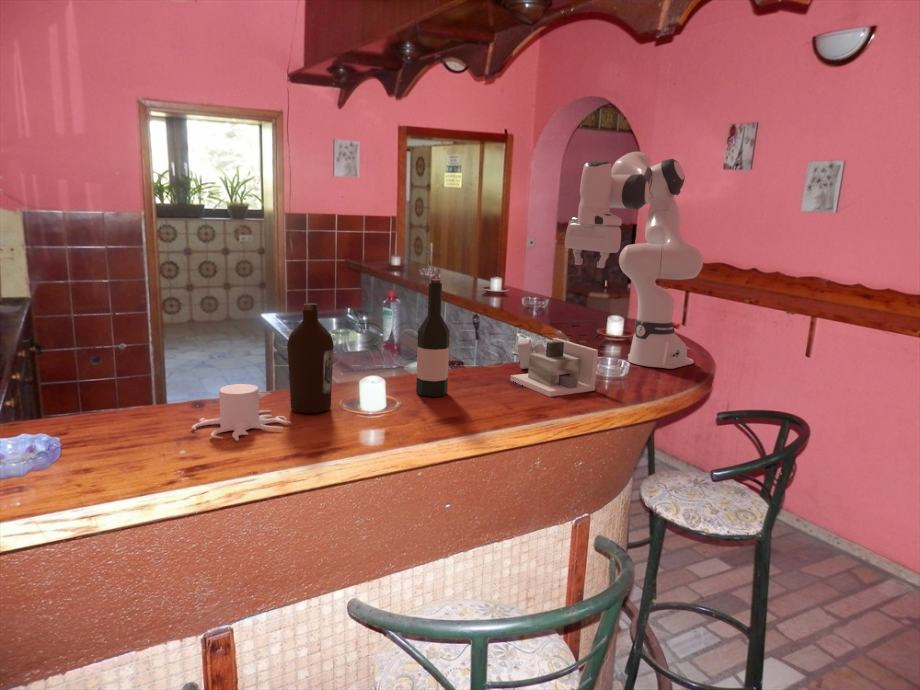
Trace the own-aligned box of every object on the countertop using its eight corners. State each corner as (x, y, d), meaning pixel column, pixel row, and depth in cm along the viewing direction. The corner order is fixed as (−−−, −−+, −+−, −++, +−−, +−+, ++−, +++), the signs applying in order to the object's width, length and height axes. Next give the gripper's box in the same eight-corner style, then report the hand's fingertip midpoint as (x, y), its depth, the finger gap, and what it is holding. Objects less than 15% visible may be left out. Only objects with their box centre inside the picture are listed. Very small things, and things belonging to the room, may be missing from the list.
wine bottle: (429, 386, 178) (432, 277, 172) (453, 392, 173) (458, 280, 167) (409, 392, 171) (412, 279, 165) (434, 398, 167) (438, 282, 161)
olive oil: (282, 413, 150) (281, 306, 145) (294, 399, 161) (293, 299, 156) (328, 415, 150) (328, 308, 145) (337, 401, 161) (337, 301, 156)
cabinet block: (555, 374, 191) (557, 337, 189) (577, 382, 183) (581, 344, 180) (527, 377, 186) (530, 340, 184) (550, 386, 178) (552, 347, 175)
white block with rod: (555, 372, 197) (551, 340, 195) (521, 375, 199) (517, 344, 198) (556, 366, 205) (552, 335, 203) (524, 369, 207) (520, 339, 205)
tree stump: (301, 427, 143) (301, 392, 141) (213, 445, 130) (211, 407, 128) (262, 405, 157) (261, 372, 156) (179, 419, 145) (177, 384, 143)
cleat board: (553, 375, 196) (556, 337, 194) (594, 390, 181) (598, 350, 179) (510, 380, 188) (512, 341, 186) (549, 396, 173) (552, 354, 171)
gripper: (561, 216, 195) (558, 263, 198) (609, 219, 178) (605, 269, 181) (577, 217, 198) (574, 262, 201) (626, 219, 181) (621, 269, 184)
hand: (589, 266), depth 191 cm, fingers open, 8 cm apart
